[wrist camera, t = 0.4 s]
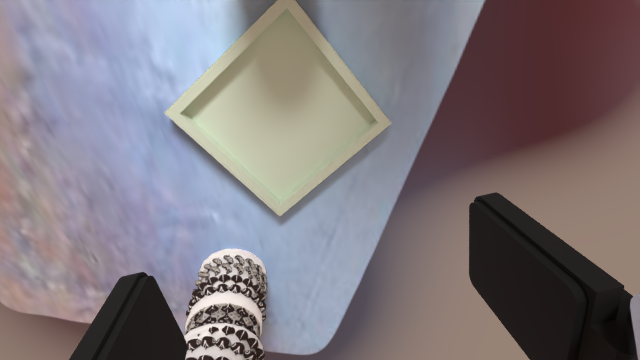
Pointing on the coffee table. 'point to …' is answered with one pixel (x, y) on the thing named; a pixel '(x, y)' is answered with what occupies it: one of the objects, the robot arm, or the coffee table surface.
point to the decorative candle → (227, 308)
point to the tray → (280, 108)
